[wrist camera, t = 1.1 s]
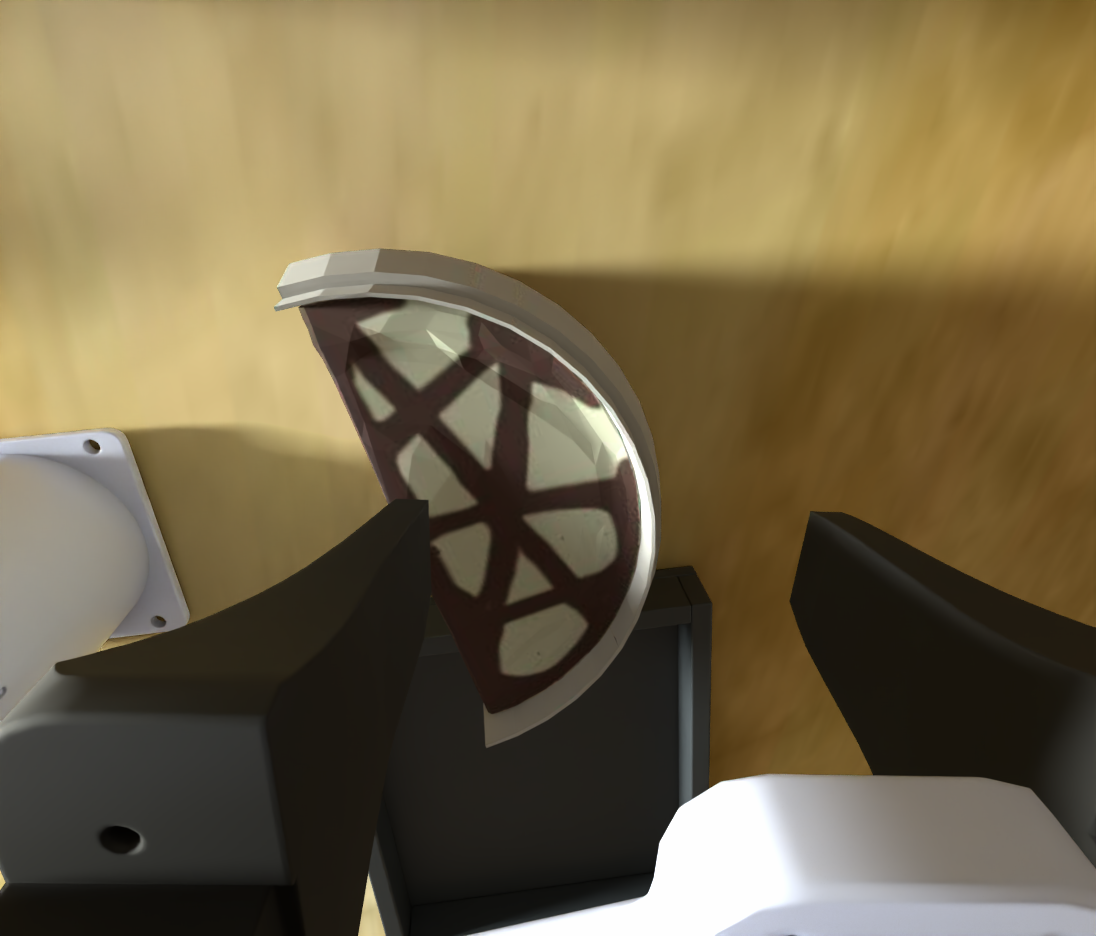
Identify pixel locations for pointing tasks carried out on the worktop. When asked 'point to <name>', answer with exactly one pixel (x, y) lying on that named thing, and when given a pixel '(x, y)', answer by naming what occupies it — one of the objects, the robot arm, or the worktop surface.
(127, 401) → the worktop surface
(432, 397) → the food container
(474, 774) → the tray
